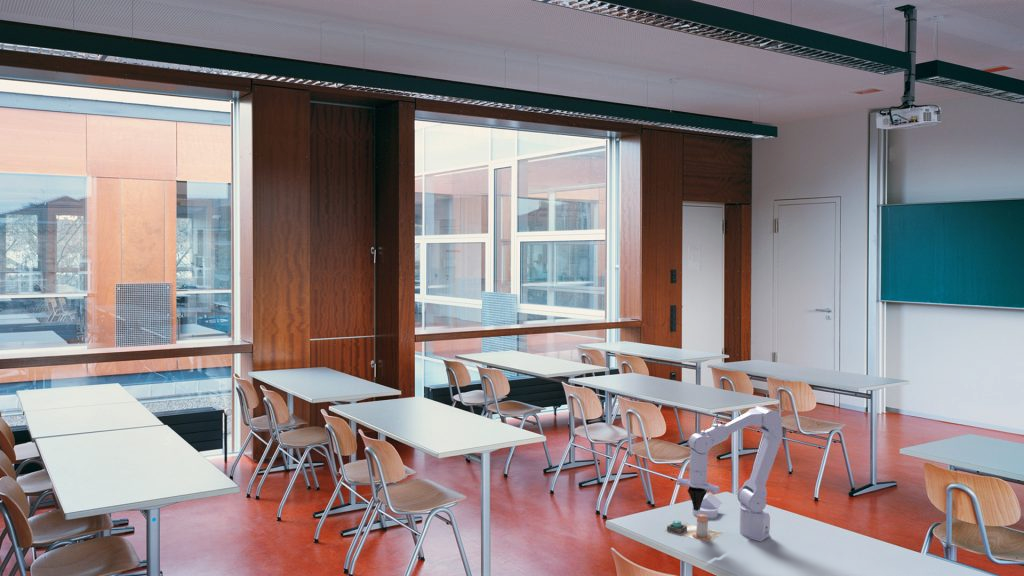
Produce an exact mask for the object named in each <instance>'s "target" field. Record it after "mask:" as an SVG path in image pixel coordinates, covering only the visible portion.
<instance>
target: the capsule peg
mask: <svg viewBox="0 0 1024 576" xmlns="http://www.w3.org/2000/svg"><path fill="white" fill-rule="evenodd" d="M708 525H709V518H708V516H707V515H705V514H698V515H697V516H696V526H697V533H696V536H697V537H699V538H707V533H708V529H709V528H708V527H709V526H708Z"/></svg>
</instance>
